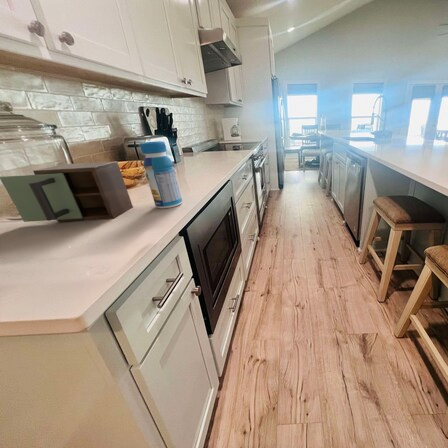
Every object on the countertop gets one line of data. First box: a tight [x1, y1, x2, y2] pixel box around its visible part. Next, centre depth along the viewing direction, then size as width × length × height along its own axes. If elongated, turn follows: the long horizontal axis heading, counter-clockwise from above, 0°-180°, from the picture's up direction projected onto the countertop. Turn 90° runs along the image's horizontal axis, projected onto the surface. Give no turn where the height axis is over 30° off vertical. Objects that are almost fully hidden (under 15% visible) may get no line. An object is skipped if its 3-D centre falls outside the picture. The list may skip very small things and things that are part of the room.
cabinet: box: [32, 161, 134, 223], centre depth 72 cm, size 16×10×15 cm, turn 93°
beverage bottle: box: [139, 140, 183, 209], centre depth 76 cm, size 8×8×20 cm
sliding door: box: [0, 173, 83, 223], centre depth 64 cm, size 16×7×13 cm, turn 93°
